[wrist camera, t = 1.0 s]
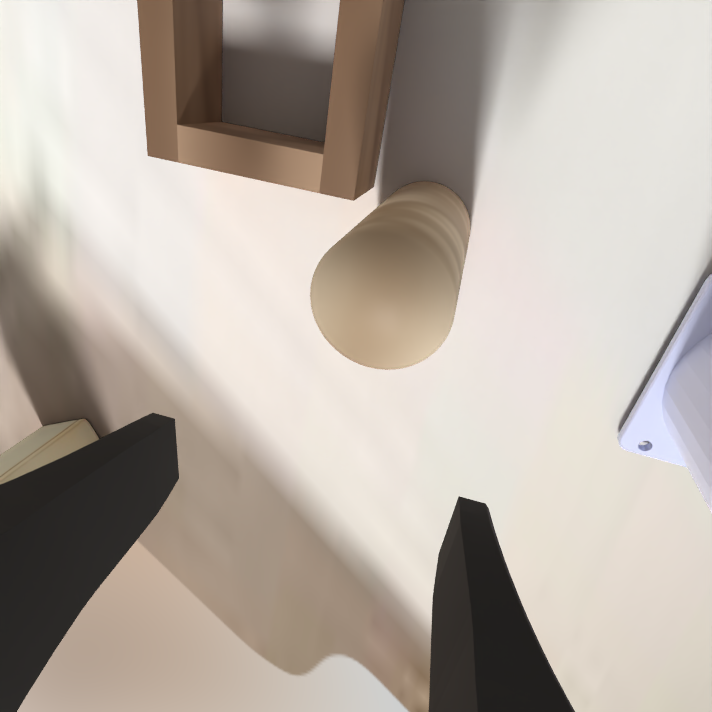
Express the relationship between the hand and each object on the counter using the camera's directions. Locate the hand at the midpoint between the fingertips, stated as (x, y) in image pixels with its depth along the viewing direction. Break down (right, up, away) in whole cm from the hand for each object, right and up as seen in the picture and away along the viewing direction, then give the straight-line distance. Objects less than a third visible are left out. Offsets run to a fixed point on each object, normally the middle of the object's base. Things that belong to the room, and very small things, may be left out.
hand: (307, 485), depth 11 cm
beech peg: (+4, +8, +7) cm, 11 cm away
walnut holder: (-1, +14, +5) cm, 15 cm away
